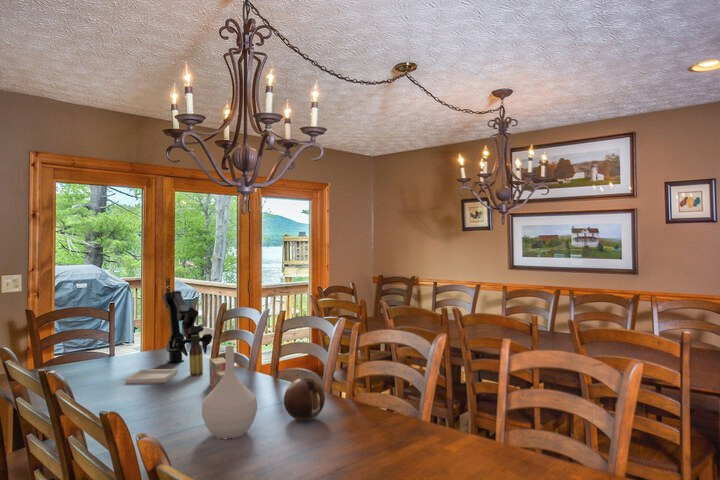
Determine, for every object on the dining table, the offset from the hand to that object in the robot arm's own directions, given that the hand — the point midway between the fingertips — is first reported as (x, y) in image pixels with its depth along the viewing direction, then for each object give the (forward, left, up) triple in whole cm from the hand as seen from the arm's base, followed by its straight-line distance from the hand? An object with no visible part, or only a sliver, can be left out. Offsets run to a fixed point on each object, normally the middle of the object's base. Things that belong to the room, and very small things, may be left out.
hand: (196, 354), depth 246 cm
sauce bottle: (-1, 0, -10) cm, 10 cm away
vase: (+68, -52, -10) cm, 86 cm away
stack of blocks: (+29, -13, -10) cm, 33 cm away
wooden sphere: (+83, -29, -10) cm, 89 cm away
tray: (-15, -14, -10) cm, 23 cm away
